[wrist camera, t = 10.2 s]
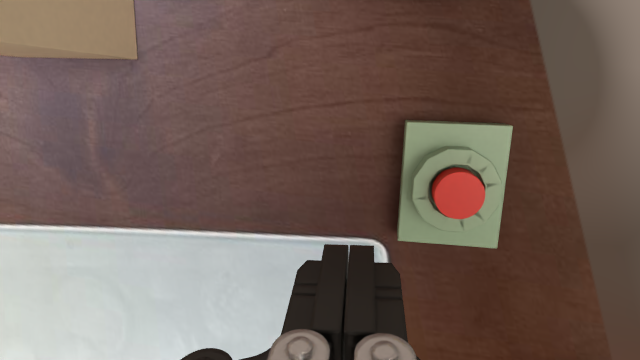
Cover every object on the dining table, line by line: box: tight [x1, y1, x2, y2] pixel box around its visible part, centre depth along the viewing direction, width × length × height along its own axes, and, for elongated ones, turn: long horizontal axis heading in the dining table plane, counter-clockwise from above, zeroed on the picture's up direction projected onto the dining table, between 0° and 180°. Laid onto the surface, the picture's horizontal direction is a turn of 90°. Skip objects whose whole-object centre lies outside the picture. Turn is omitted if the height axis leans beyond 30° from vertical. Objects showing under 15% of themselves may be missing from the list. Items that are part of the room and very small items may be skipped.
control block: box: [397, 120, 513, 248], centre depth 33 cm, size 8×10×4 cm
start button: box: [432, 168, 485, 219], centre depth 31 cm, size 4×4×2 cm
